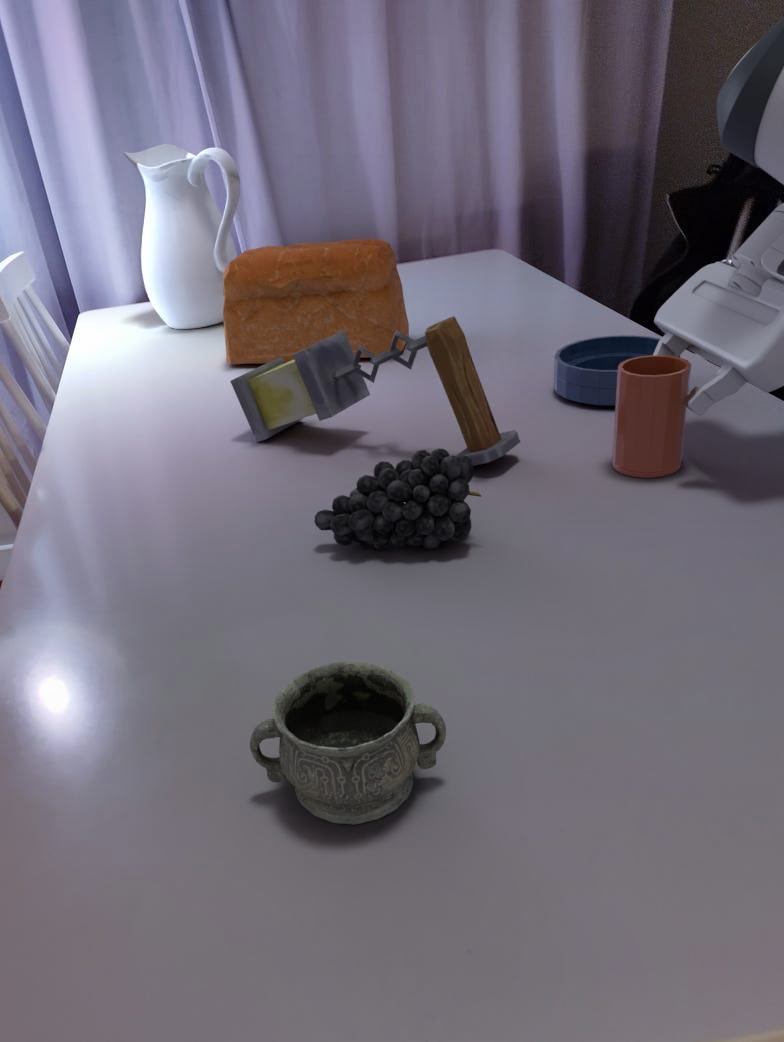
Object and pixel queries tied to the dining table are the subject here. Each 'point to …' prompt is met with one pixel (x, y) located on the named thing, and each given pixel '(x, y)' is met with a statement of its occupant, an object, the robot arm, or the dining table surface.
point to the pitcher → (185, 234)
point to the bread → (312, 299)
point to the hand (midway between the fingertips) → (667, 394)
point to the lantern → (337, 383)
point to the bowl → (596, 366)
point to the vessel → (348, 740)
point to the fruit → (424, 518)
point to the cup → (650, 415)
